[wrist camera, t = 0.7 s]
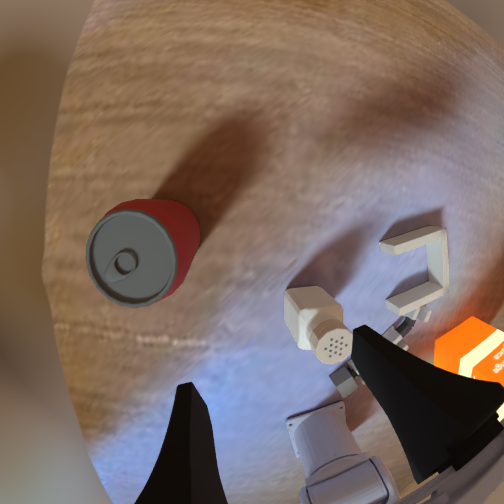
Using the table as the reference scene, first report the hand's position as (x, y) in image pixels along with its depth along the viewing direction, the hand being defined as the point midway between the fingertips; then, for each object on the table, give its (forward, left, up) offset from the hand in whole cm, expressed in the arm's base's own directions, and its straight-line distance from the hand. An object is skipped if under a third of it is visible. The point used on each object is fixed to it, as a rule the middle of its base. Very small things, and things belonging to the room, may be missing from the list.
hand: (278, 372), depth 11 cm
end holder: (-5, -19, -17) cm, 26 cm away
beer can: (+6, +6, -17) cm, 19 cm away
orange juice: (-21, -28, -17) cm, 39 cm away
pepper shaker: (-5, -5, -17) cm, 18 cm away
